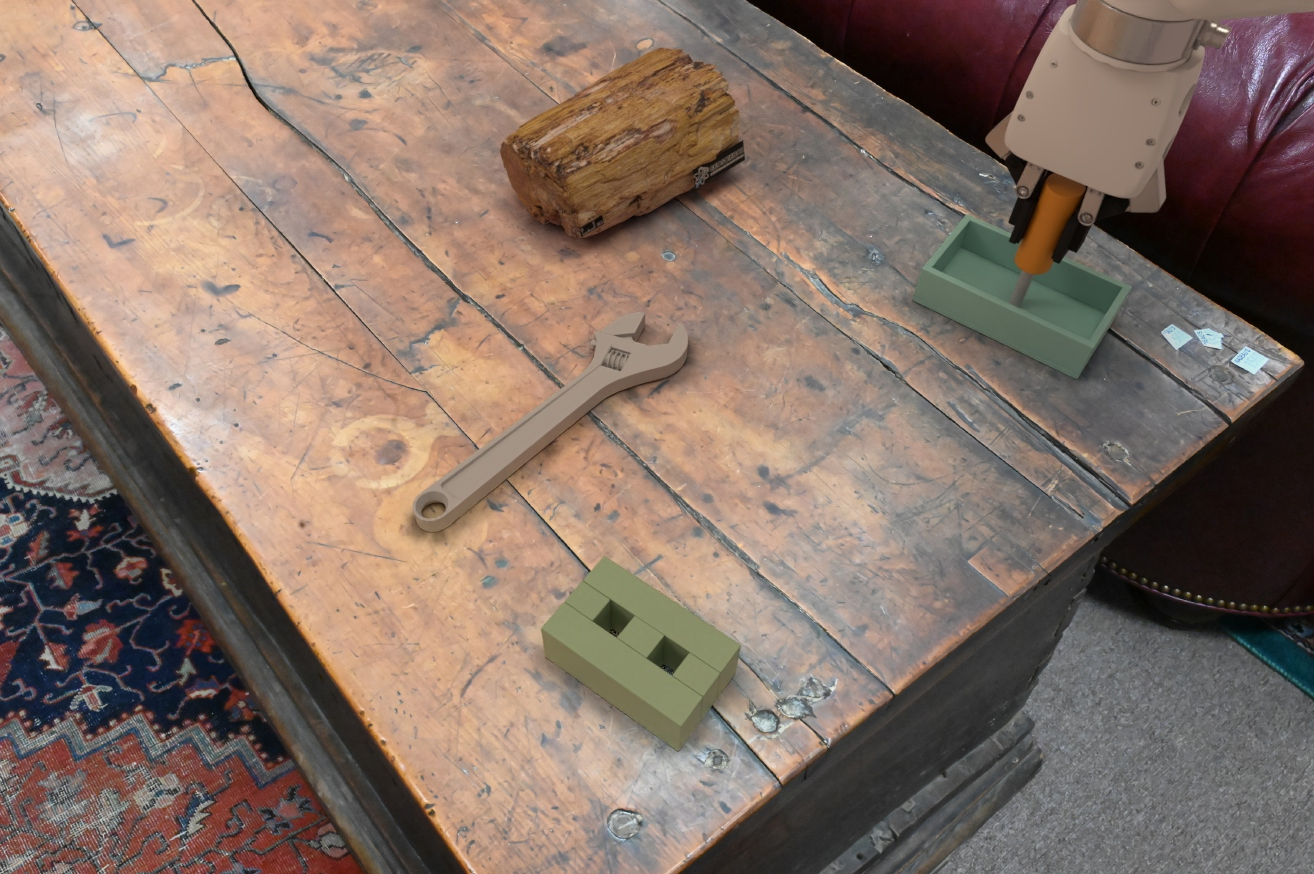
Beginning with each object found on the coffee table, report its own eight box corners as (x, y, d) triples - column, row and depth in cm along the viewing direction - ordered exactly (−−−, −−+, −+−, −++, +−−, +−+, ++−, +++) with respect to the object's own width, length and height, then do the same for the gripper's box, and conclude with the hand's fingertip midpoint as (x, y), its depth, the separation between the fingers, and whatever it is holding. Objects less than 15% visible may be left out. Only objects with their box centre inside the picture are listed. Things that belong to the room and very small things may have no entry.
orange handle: (1038, 301, 82) (1091, 182, 73) (1024, 321, 81) (1077, 202, 71) (1006, 286, 83) (1054, 167, 74) (991, 306, 82) (1039, 187, 72)
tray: (955, 246, 87) (966, 213, 84) (1115, 318, 82) (1132, 286, 79) (911, 300, 83) (921, 268, 80) (1076, 380, 78) (1093, 348, 75)
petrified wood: (586, 272, 83) (560, 164, 76) (499, 219, 91) (468, 117, 84) (754, 168, 91) (744, 61, 84) (659, 128, 99) (643, 27, 92)
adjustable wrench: (432, 541, 68) (427, 527, 67) (379, 483, 71) (374, 468, 70) (700, 356, 78) (701, 341, 77) (645, 312, 81) (645, 296, 80)
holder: (605, 586, 66) (604, 555, 63) (735, 672, 63) (741, 644, 60) (544, 656, 63) (540, 627, 60) (678, 752, 60) (681, 726, 56)
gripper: (1290, 35, 61) (1162, 260, 76) (1038, -49, 67) (964, 176, 81) (1253, 94, 57) (1126, 318, 72) (990, -1, 63) (922, 226, 78)
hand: (1041, 241), depth 77 cm, fingers closed on orange handle, 2 cm apart
